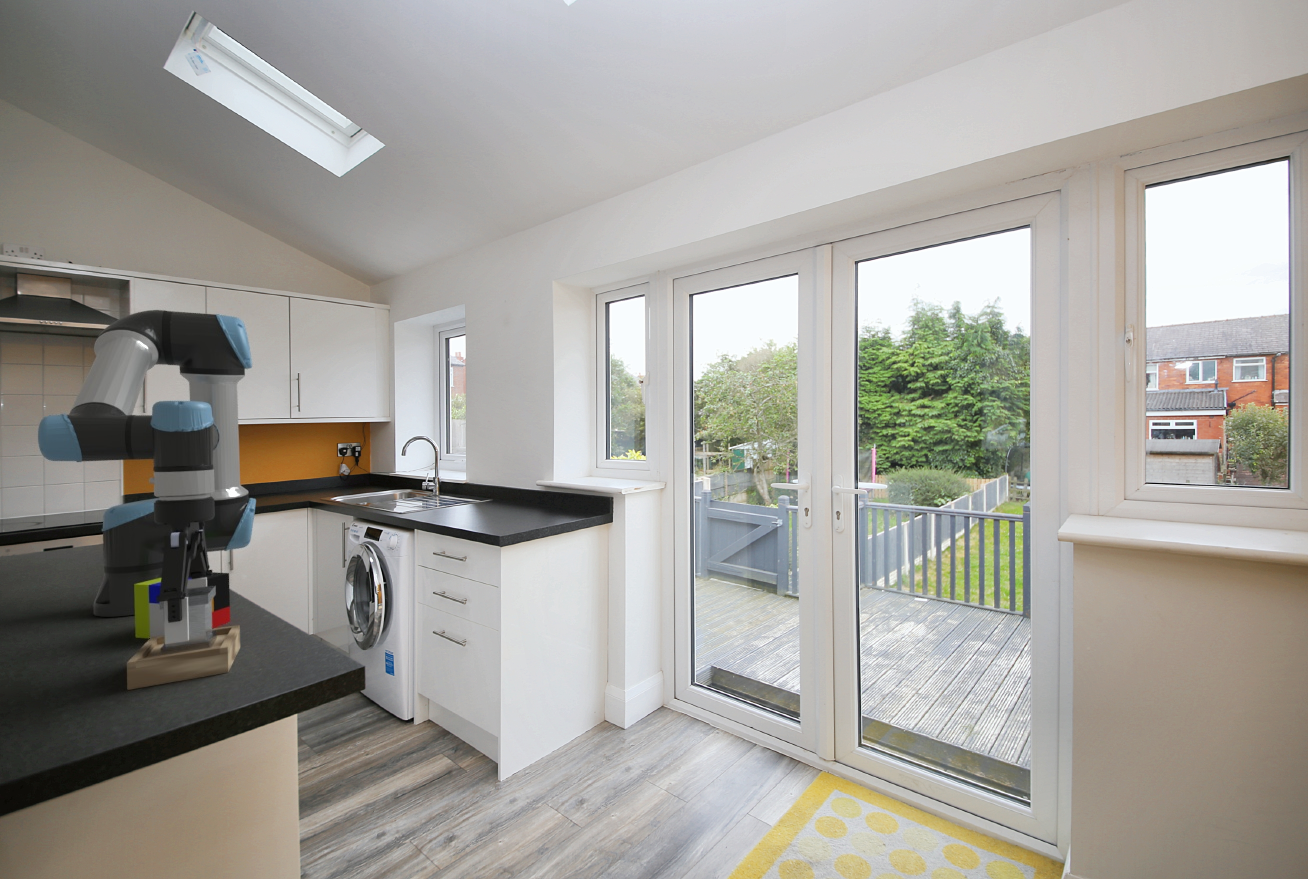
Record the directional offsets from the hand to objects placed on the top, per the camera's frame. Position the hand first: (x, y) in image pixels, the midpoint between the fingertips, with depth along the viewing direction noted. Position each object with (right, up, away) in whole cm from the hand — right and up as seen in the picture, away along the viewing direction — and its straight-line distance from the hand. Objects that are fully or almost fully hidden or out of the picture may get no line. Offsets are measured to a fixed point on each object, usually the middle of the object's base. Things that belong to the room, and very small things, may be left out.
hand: (188, 628), depth 92 cm
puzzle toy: (-15, -6, +18) cm, 24 cm away
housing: (0, -3, 0) cm, 3 cm away
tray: (0, -6, 0) cm, 6 cm away
